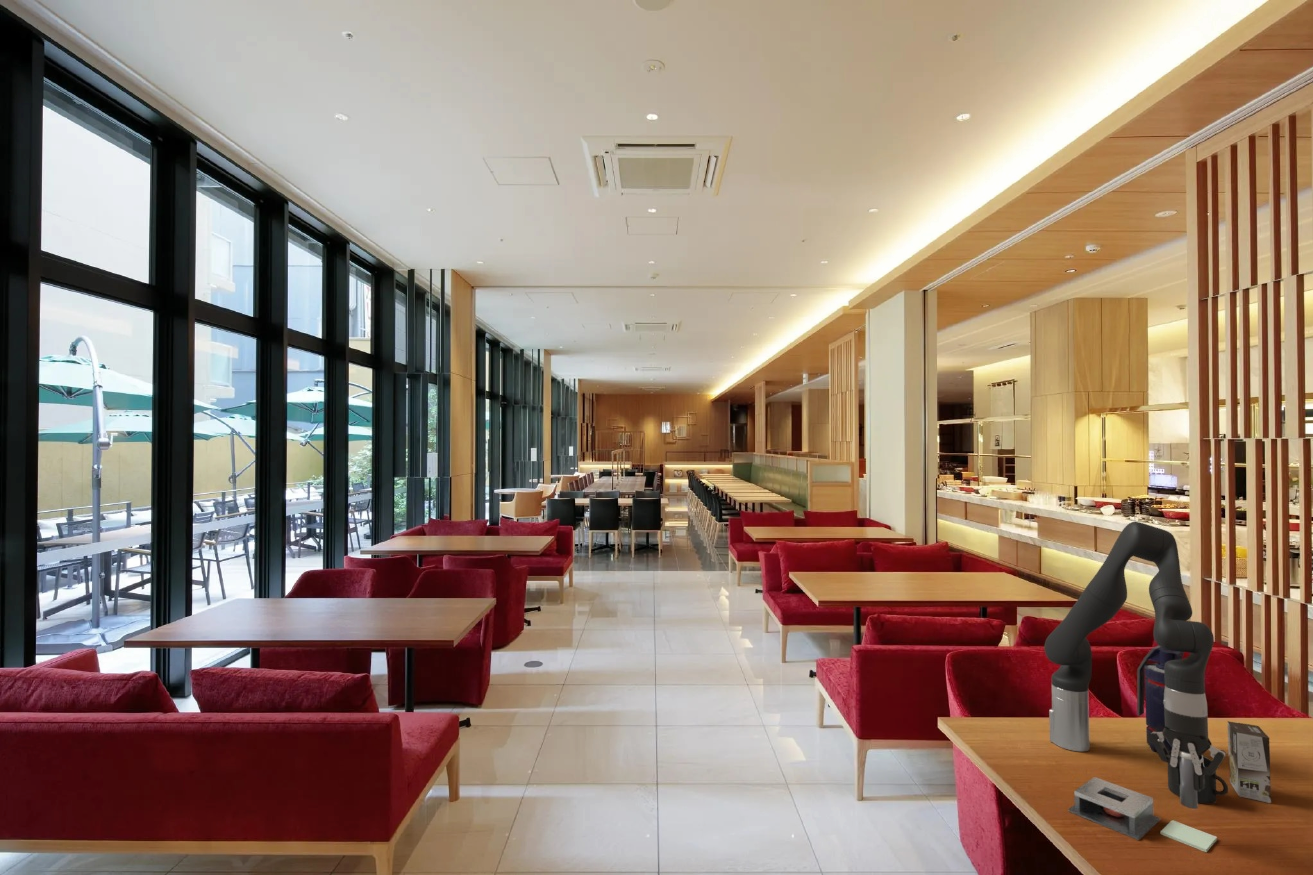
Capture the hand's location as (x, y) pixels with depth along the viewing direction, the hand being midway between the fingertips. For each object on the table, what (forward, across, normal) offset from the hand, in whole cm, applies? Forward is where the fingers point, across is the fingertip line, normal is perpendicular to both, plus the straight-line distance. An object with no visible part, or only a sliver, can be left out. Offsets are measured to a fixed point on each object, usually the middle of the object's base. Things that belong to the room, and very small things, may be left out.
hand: (1188, 786), depth 140 cm
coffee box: (+11, -3, -38) cm, 40 cm away
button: (+10, +13, +4) cm, 17 cm away
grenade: (+11, +17, -50) cm, 54 cm away
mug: (+11, +4, -24) cm, 27 cm away
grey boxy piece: (+11, +13, +4) cm, 18 cm away
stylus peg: (+4, 0, 0) cm, 4 cm away
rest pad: (+11, 0, 0) cm, 11 cm away
